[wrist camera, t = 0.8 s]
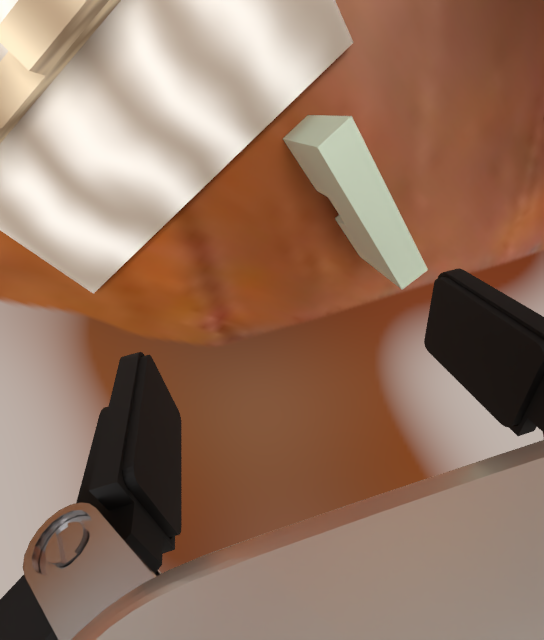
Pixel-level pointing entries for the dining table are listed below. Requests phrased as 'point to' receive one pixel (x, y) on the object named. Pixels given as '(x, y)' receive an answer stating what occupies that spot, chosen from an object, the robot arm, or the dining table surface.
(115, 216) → the white rectangular board
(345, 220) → the cross piece
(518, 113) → the dining table surface
